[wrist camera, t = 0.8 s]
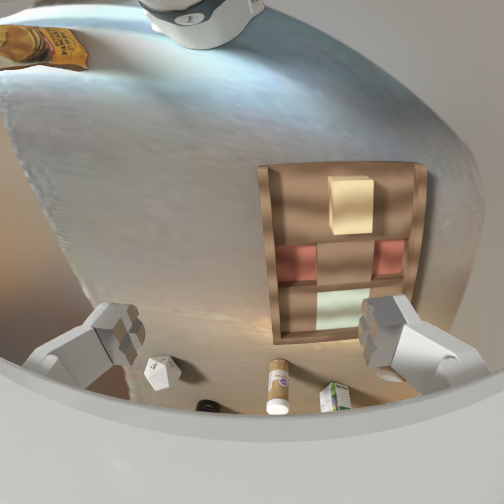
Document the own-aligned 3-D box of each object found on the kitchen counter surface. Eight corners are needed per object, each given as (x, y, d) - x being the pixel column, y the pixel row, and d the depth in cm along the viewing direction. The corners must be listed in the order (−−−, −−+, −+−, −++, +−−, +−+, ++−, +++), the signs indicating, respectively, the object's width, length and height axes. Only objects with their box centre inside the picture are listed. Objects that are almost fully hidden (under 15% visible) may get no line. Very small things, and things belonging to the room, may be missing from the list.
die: (189, 358, 63) (163, 366, 54) (186, 389, 63) (160, 400, 54) (164, 348, 67) (137, 354, 58) (162, 378, 66) (135, 386, 57)
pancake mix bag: (77, 89, 37) (-42, 94, 12) (45, 43, 32) (-51, 36, 6) (99, 63, 35) (-21, 48, 10) (64, 19, 30) (-32, 0, 4)
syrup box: (348, 385, 63) (356, 430, 50) (335, 397, 65) (340, 441, 52) (331, 380, 62) (338, 428, 49) (318, 393, 65) (322, 438, 52)
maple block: (328, 176, 40) (333, 181, 36) (365, 175, 39) (373, 180, 35) (329, 225, 43) (334, 234, 39) (364, 223, 42) (372, 232, 39)
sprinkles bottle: (291, 360, 60) (292, 407, 47) (285, 371, 62) (285, 417, 49) (272, 356, 59) (270, 404, 47) (266, 368, 61) (263, 414, 49)
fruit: (412, 340, 55) (429, 376, 45) (387, 365, 59) (399, 402, 48) (386, 327, 54) (402, 366, 43) (359, 354, 58) (370, 394, 47)
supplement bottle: (217, 413, 72) (210, 445, 62) (195, 407, 72) (187, 439, 61) (222, 403, 70) (216, 437, 59) (199, 396, 69) (190, 430, 58)
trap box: (258, 165, 42) (256, 169, 38) (415, 162, 39) (427, 166, 35) (274, 330, 56) (273, 344, 52) (396, 318, 53) (403, 332, 49)
